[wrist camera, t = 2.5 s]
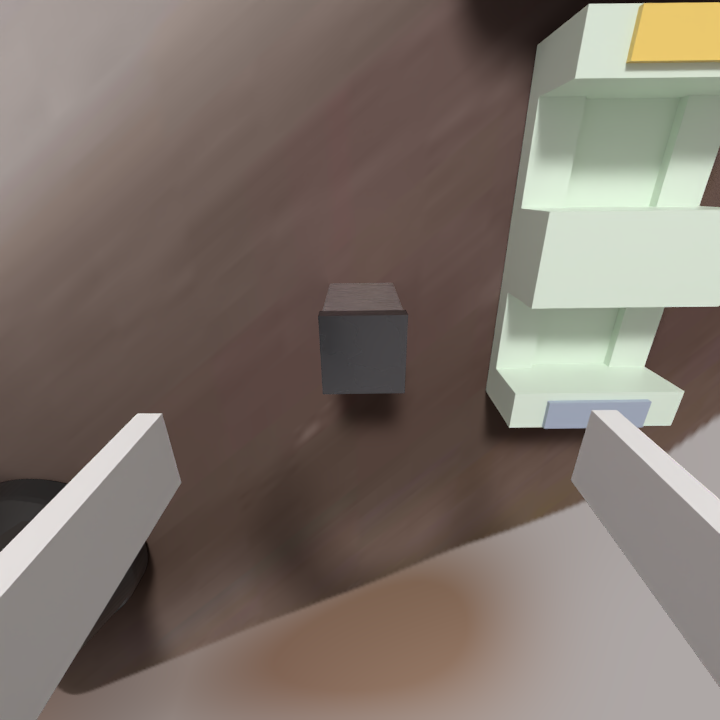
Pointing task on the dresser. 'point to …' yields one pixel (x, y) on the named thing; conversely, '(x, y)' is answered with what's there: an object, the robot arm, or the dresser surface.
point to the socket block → (609, 214)
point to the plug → (363, 339)
